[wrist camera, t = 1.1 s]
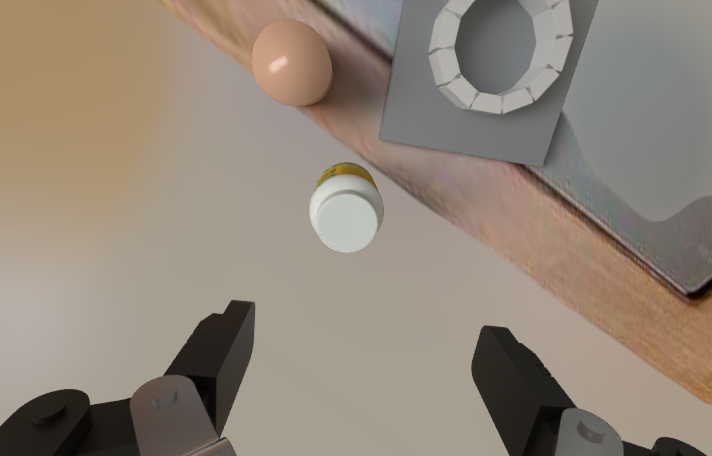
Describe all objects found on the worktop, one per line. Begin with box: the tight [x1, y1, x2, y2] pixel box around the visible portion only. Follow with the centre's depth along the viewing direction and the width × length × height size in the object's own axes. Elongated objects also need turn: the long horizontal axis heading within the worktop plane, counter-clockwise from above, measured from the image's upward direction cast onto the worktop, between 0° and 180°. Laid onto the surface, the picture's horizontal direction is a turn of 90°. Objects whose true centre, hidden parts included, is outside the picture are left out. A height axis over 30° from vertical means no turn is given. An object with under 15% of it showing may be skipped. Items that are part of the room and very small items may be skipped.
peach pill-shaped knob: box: [252, 20, 333, 106], centre depth 25 cm, size 5×5×6 cm
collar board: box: [379, 0, 598, 167], centre depth 26 cm, size 14×16×4 cm
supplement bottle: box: [310, 162, 384, 253], centre depth 27 cm, size 5×5×10 cm
